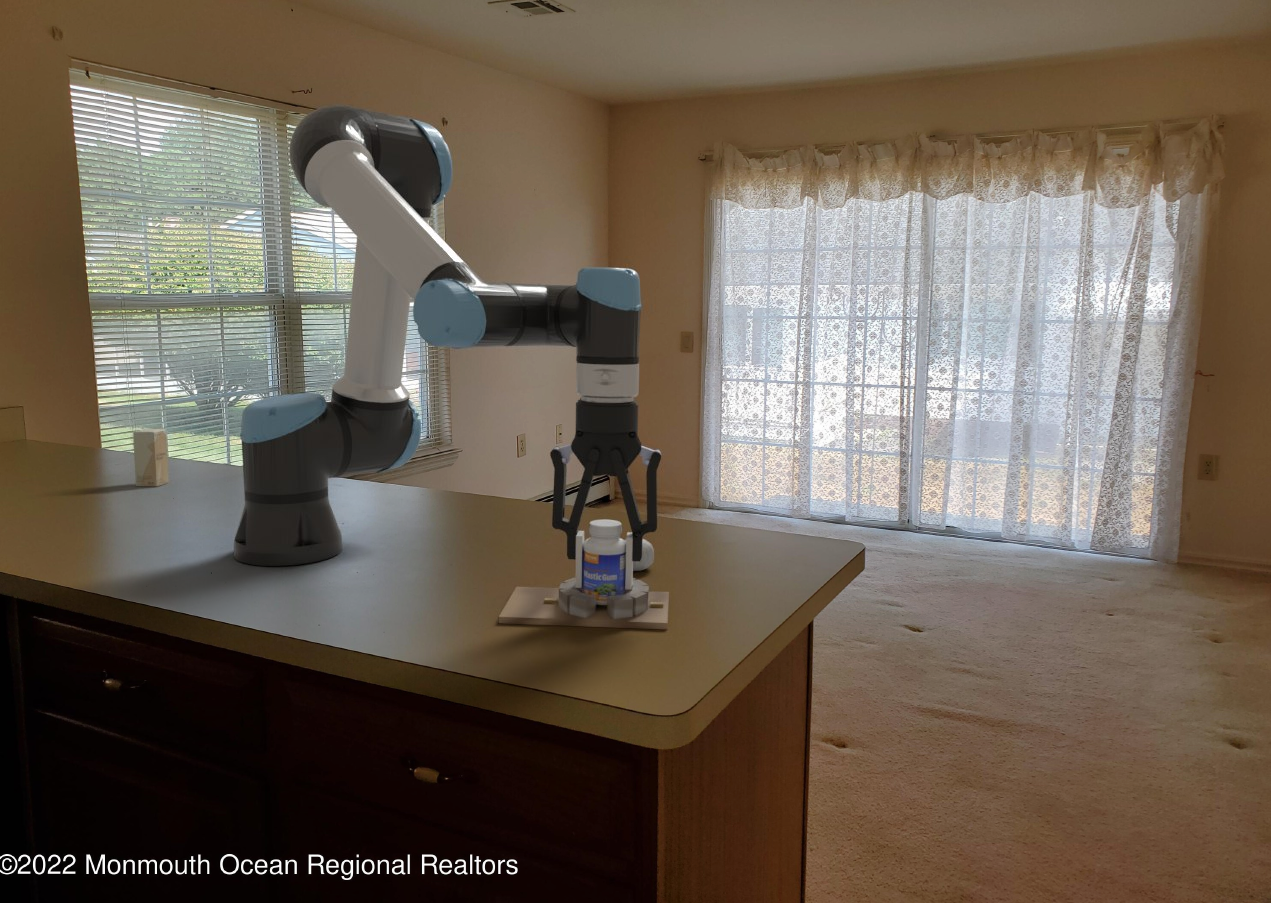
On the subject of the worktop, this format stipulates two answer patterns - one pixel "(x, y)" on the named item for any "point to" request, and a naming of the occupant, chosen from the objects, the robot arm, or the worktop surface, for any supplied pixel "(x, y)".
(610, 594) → the pill bottle
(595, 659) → the worktop surface
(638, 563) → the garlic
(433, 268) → the robot arm
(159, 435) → the box
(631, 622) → the socket board
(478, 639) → the worktop surface
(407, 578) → the worktop surface
